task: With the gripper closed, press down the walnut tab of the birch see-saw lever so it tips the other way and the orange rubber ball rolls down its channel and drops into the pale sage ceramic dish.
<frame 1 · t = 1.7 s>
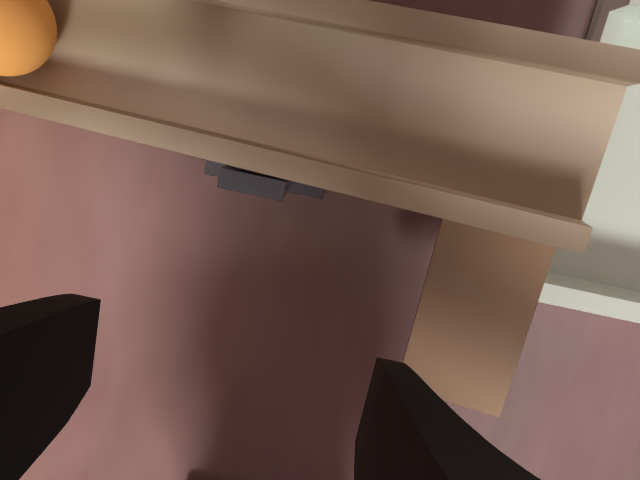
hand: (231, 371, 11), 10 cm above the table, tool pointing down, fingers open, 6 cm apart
lever: (239, 174, 17), point 4 cm above the table, hinge at -12.0°, touching ball
ball: (1, 23, 16), point 3 cm above the table, tilted 17°, touching lever
pivot: (283, 87, 20), on the table
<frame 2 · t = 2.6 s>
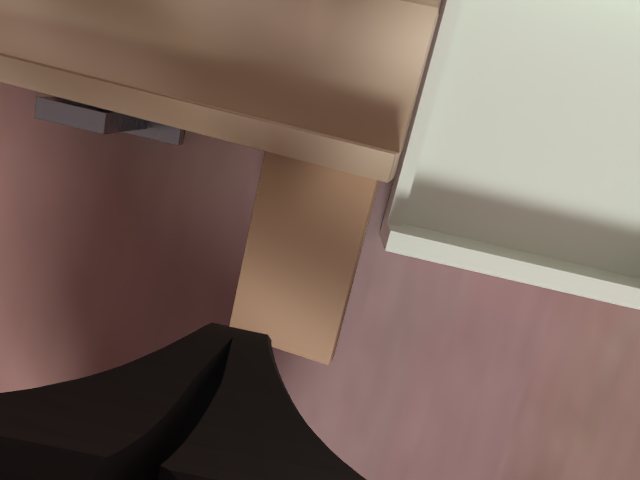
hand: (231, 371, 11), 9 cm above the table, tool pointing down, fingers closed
dish: (562, 129, 19), on the table
lever: (62, 106, 16), point 4 cm above the table, hinge at -12.0°, touching ball
pivot: (137, 27, 19), on the table
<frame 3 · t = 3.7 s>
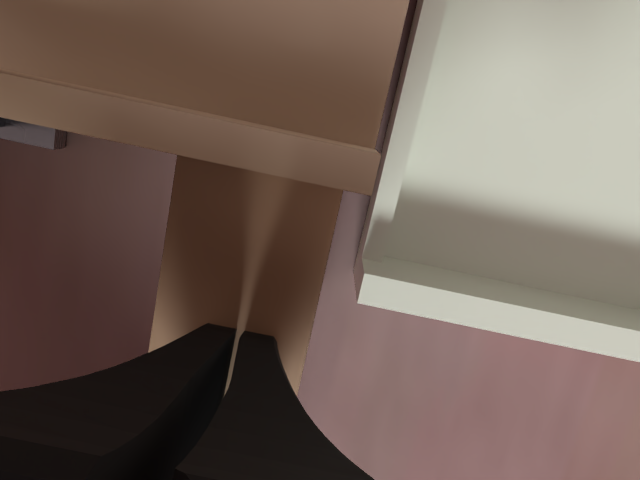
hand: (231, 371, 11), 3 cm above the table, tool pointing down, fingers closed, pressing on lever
dish: (615, 116, 13), on the table
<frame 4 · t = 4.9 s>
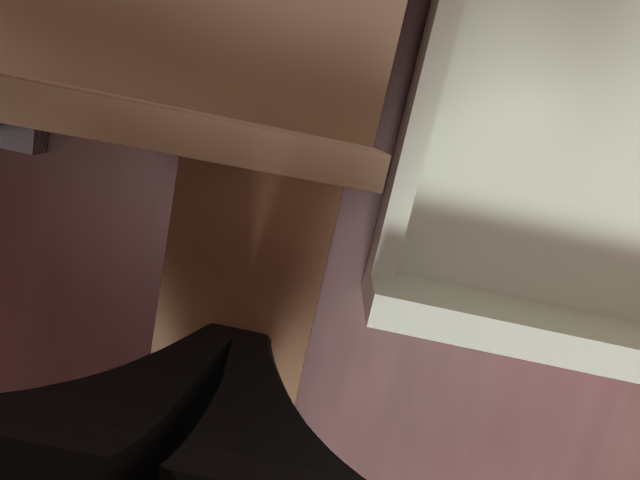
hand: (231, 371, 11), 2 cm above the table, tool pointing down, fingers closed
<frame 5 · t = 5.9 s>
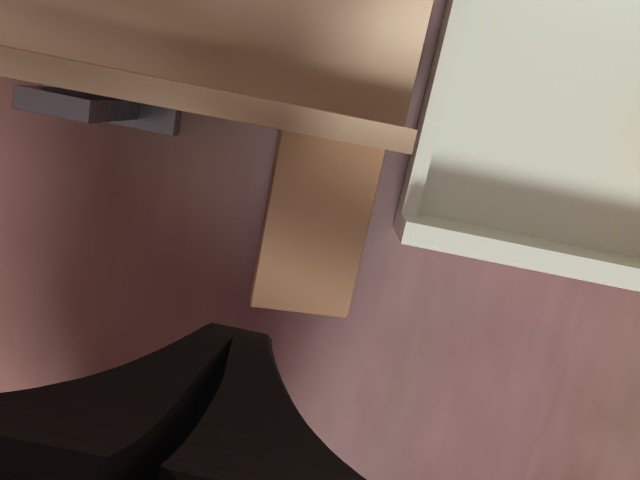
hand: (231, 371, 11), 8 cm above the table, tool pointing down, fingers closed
dish: (590, 106, 18), on the table
lever: (49, 96, 14), point 4 cm above the table, hinge at 11.8°
pivot: (124, 9, 17), on the table
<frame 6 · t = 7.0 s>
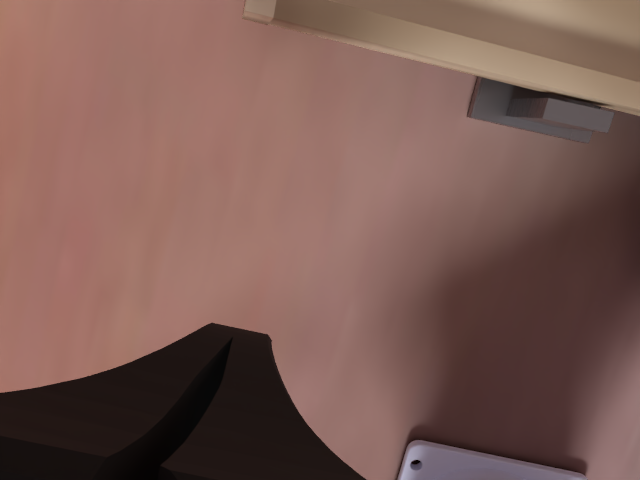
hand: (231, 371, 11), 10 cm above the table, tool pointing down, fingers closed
lever: (568, 108, 16), point 4 cm above the table, hinge at 11.8°
pivot: (554, 28, 19), on the table
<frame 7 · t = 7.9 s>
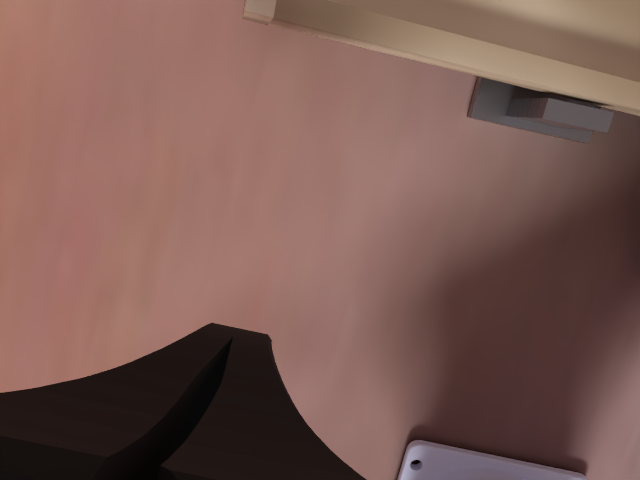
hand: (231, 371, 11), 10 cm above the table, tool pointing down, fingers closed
lever: (568, 108, 16), point 4 cm above the table, hinge at 11.8°
pivot: (554, 28, 19), on the table
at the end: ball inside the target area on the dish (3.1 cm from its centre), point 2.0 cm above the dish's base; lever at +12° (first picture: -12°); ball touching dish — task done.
